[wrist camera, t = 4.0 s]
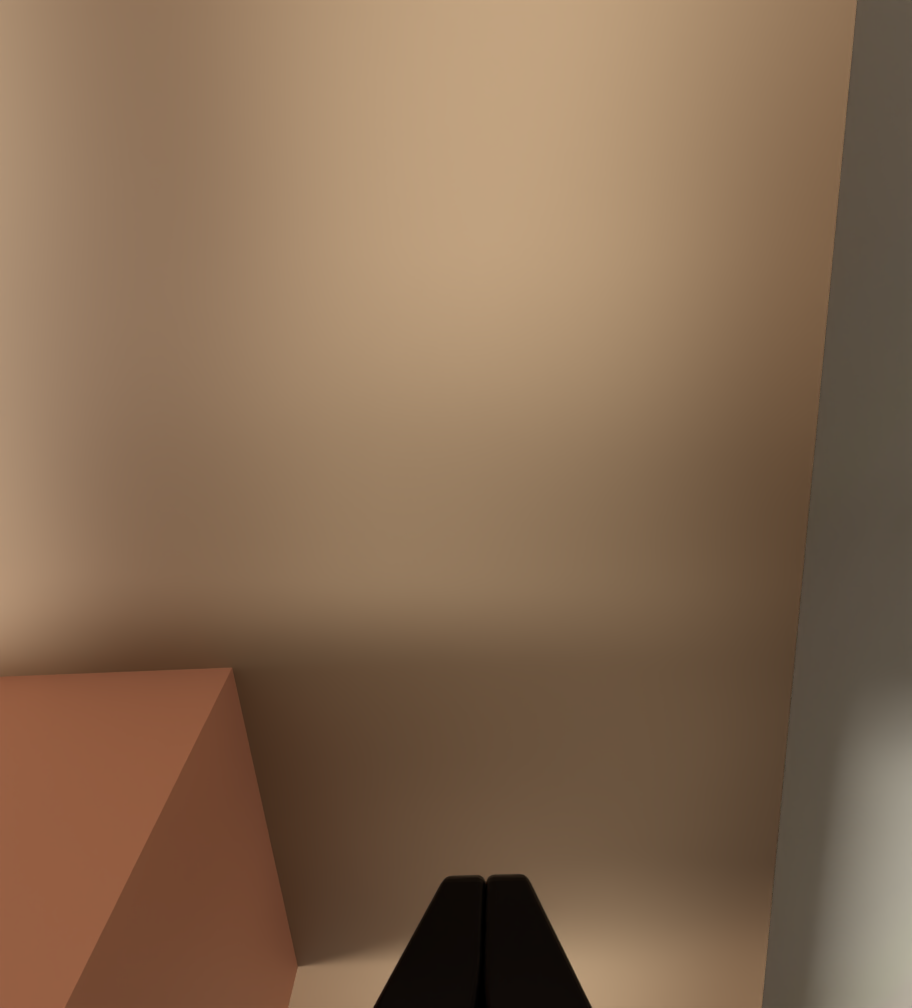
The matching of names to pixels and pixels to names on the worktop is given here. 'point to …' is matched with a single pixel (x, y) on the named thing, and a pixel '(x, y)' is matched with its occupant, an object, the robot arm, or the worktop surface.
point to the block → (135, 847)
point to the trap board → (437, 435)
